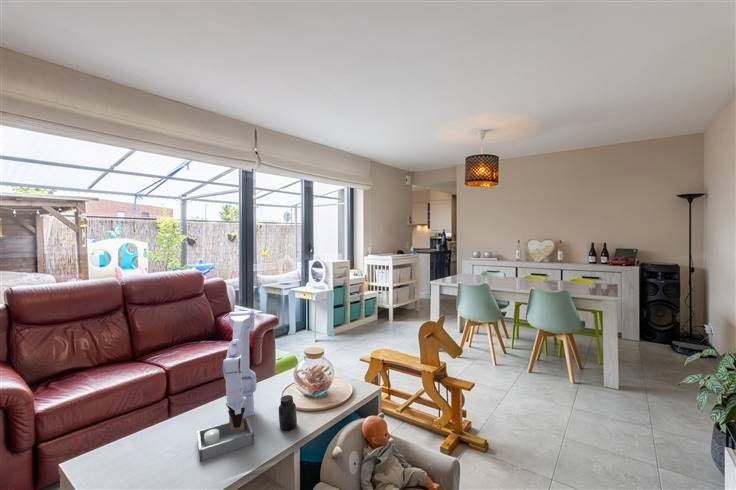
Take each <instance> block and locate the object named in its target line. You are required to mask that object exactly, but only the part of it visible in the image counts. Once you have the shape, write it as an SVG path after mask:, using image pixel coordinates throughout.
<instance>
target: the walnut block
mask: <svg viewBox="0 0 736 490" xmlns="http://www.w3.org/2000/svg"><path fill="white" fill-rule="evenodd" d="M228 419H229V420H228V422H229V423H230V430H231V433H234V432H238V431H241V430H244V415H243V416H242V421H241V426H240V427H238V428H234V426H233V421H232V418H231V416H230V415H229V414H228Z"/></svg>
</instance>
